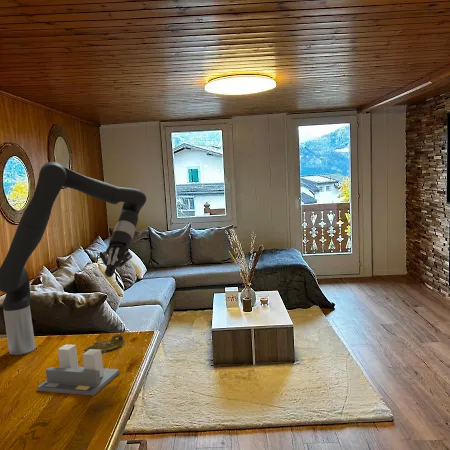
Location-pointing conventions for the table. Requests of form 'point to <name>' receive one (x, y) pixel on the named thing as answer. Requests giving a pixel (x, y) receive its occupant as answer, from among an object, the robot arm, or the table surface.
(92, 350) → the tall white pillar block
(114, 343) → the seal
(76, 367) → the white rectangular block
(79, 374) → the plate
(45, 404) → the table surface
